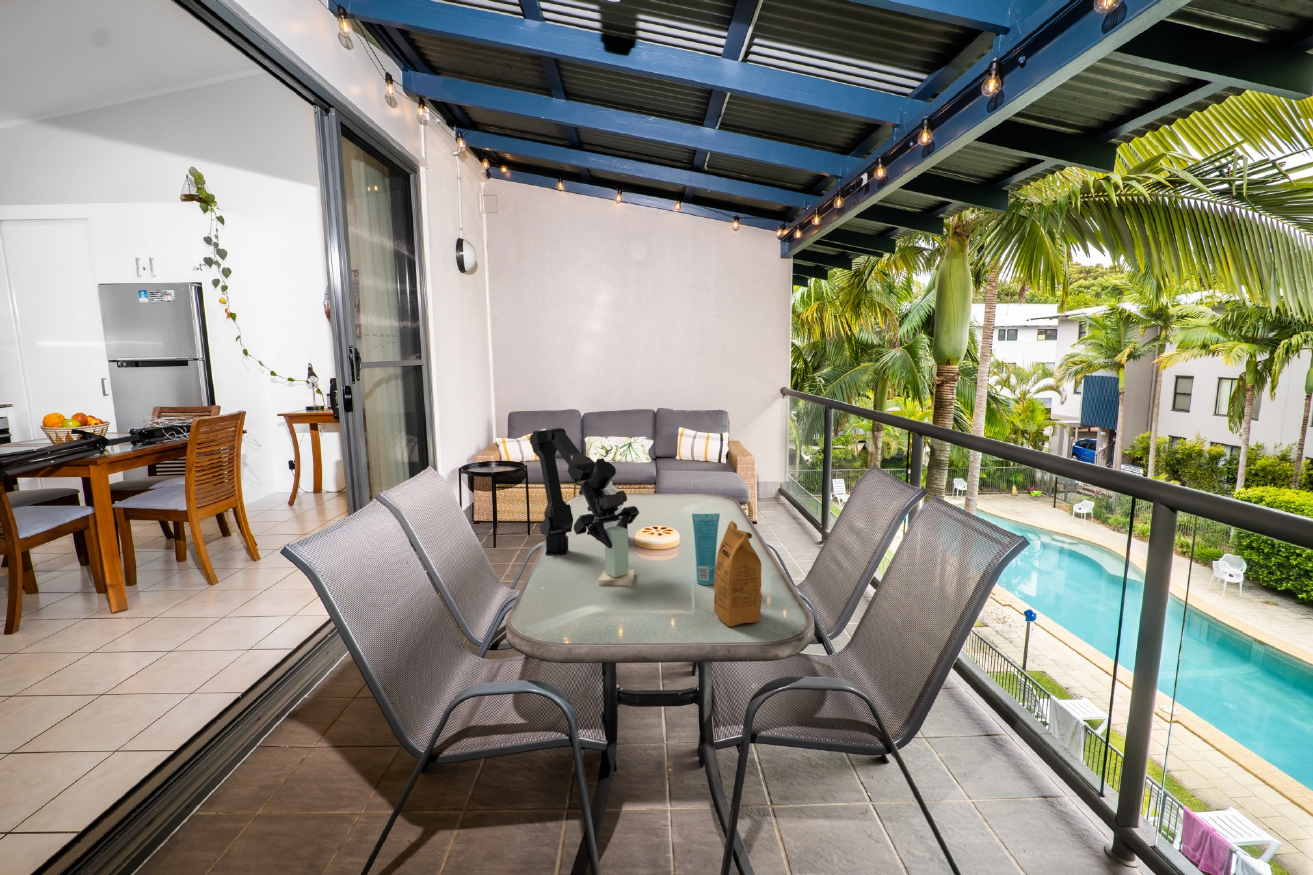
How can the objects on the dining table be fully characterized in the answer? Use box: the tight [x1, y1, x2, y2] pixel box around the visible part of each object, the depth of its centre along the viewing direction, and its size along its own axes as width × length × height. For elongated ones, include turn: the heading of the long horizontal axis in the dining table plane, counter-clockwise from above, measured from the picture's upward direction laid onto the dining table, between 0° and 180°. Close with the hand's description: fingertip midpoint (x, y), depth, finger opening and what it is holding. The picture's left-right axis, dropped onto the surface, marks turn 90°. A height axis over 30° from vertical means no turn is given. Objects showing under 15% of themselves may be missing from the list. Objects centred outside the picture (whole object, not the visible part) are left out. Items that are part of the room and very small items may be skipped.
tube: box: [691, 512, 720, 586], centre depth 164 cm, size 7×5×19 cm, turn 100°
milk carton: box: [604, 480, 623, 529], centre depth 207 cm, size 7×7×19 cm
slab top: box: [597, 568, 636, 586], centre depth 165 cm, size 9×9×2 cm
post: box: [604, 526, 629, 577], centre depth 164 cm, size 4×4×12 cm
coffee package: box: [713, 520, 763, 627], centre depth 141 cm, size 10×12×22 cm
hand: (619, 545), depth 163 cm, fingers open, 5 cm apart
